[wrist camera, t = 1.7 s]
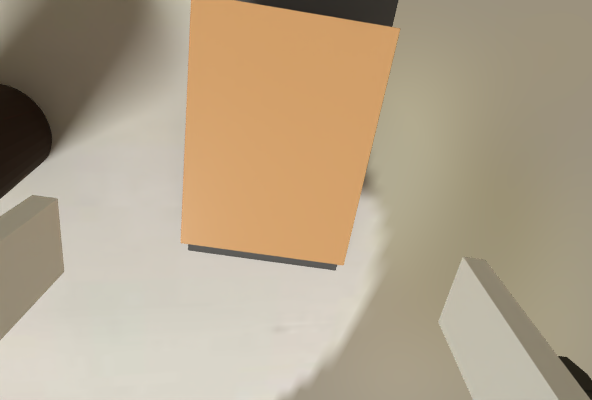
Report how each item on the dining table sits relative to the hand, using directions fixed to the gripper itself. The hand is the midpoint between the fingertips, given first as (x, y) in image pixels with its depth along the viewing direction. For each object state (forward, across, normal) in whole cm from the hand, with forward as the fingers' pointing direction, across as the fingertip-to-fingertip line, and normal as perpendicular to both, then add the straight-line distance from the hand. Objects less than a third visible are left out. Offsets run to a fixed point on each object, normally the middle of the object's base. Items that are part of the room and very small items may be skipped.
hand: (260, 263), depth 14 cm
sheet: (+13, 0, 0) cm, 13 cm away
